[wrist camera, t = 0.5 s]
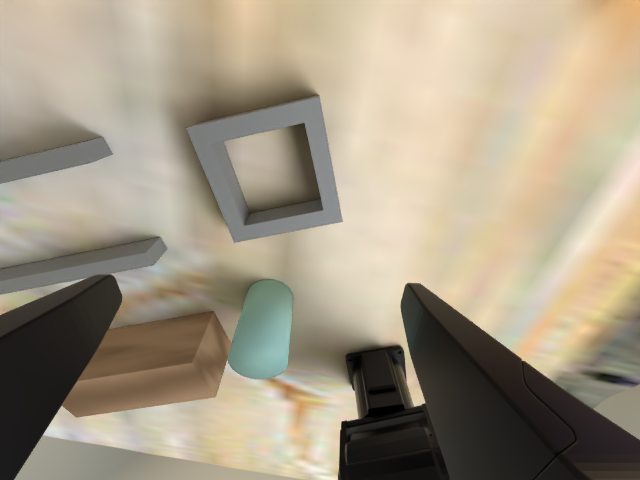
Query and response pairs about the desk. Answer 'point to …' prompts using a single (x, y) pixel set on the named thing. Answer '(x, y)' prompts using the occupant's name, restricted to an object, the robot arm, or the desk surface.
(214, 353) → the block
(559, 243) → the desk surface
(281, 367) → the nose cylinder
